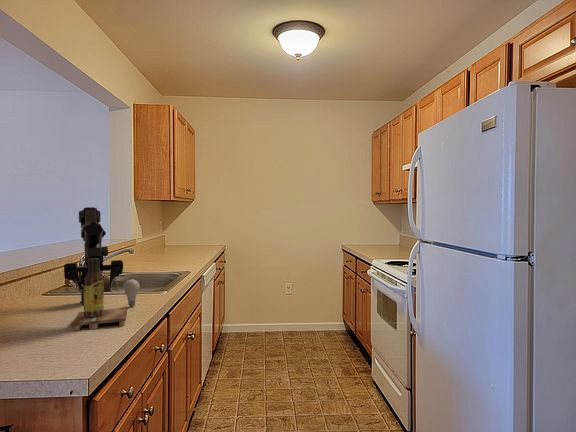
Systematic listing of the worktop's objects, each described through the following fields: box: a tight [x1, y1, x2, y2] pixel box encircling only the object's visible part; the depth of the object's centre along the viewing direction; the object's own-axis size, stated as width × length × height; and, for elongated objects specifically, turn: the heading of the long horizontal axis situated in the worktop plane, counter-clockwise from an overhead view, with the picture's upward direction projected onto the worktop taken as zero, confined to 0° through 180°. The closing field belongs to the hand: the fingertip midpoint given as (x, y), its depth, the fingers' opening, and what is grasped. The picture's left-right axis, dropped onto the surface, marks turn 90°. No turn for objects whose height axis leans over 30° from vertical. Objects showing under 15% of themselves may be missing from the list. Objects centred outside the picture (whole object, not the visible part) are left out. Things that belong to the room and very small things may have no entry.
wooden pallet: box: [71, 307, 128, 331], centre depth 137 cm, size 16×14×2 cm
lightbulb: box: [122, 278, 141, 308], centre depth 159 cm, size 6×6×11 cm
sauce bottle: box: [83, 258, 105, 317], centre depth 136 cm, size 6×6×20 cm
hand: (95, 288), depth 135 cm, fingers open, 9 cm apart
